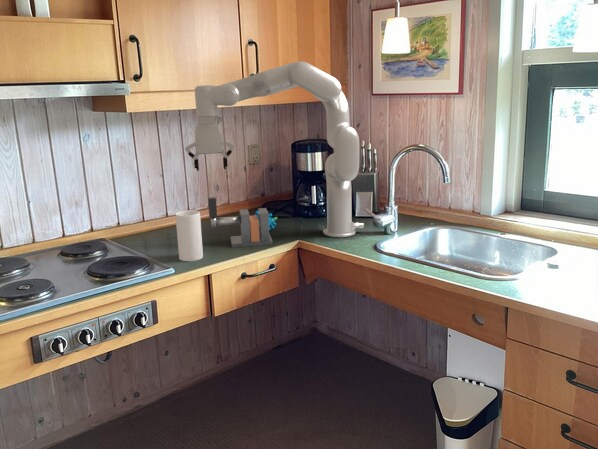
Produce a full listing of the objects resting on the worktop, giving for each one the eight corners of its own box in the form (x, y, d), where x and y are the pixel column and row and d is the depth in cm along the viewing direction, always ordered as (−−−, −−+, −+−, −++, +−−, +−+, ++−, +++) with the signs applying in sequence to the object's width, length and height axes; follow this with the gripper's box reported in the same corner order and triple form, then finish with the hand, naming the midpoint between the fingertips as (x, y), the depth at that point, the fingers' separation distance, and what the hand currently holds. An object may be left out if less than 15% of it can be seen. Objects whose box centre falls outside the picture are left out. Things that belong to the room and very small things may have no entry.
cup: (174, 258, 192) (170, 213, 188) (193, 252, 198) (190, 209, 194) (188, 262, 187) (184, 217, 183) (207, 256, 193) (204, 212, 189)
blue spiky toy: (260, 229, 220) (251, 208, 224) (253, 237, 224) (245, 217, 228) (282, 228, 227) (273, 208, 231) (275, 236, 231) (267, 216, 235)
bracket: (269, 237, 214) (268, 207, 211) (272, 244, 205) (271, 213, 202) (230, 240, 212) (228, 209, 209) (231, 247, 202) (230, 216, 199)
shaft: (243, 223, 208) (241, 195, 205) (244, 226, 204) (242, 197, 201) (210, 225, 206) (208, 197, 203) (210, 228, 202) (208, 199, 200)
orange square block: (257, 235, 212) (256, 215, 210) (259, 241, 205) (258, 220, 202) (249, 235, 212) (248, 215, 210) (251, 241, 204) (250, 220, 202)
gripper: (231, 119, 200) (234, 166, 204) (183, 121, 197) (187, 169, 202) (233, 121, 193) (236, 169, 197) (182, 123, 190) (186, 172, 195)
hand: (211, 169), depth 199 cm, fingers open, 9 cm apart
